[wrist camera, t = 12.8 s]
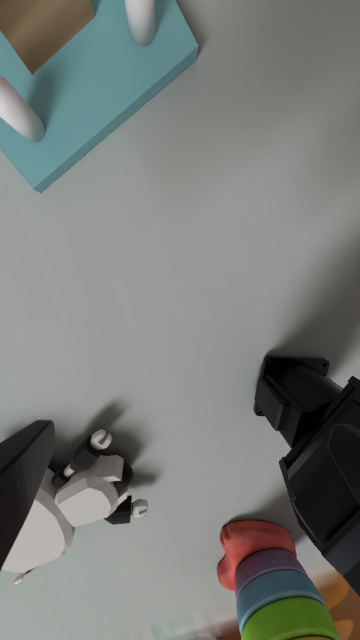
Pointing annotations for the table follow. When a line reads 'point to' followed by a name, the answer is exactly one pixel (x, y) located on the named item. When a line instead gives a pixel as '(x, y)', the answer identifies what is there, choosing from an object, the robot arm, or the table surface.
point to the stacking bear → (271, 585)
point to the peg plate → (89, 84)
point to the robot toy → (74, 504)
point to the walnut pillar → (42, 26)
